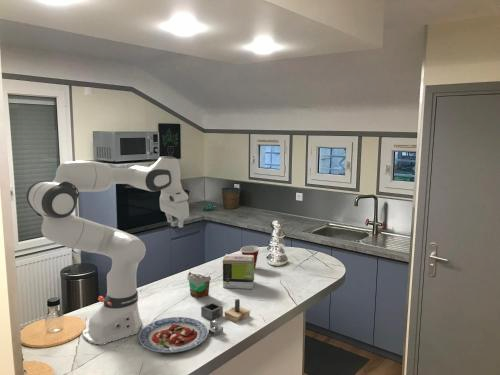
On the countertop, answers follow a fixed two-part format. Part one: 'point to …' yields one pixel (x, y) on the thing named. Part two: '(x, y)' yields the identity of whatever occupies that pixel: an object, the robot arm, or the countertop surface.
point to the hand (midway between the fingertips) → (175, 224)
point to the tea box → (238, 271)
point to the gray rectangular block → (211, 324)
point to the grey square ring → (212, 311)
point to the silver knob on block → (215, 329)
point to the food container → (198, 285)
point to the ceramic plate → (173, 334)
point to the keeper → (237, 312)
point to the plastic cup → (251, 252)
